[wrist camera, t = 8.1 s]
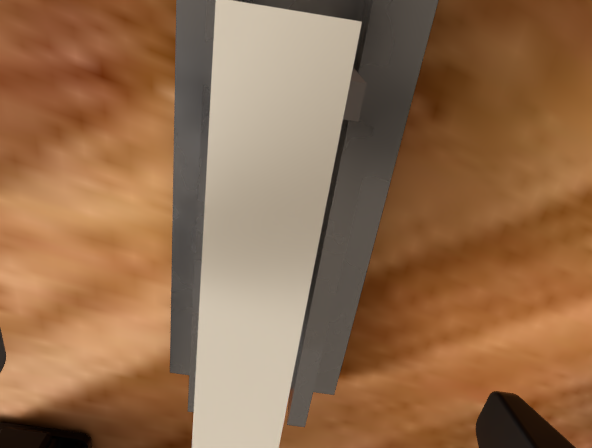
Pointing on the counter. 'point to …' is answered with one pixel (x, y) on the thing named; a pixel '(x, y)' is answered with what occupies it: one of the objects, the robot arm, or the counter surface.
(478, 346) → the counter surface
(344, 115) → the door panel
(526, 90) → the counter surface
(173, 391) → the counter surface
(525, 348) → the counter surface
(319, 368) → the track
